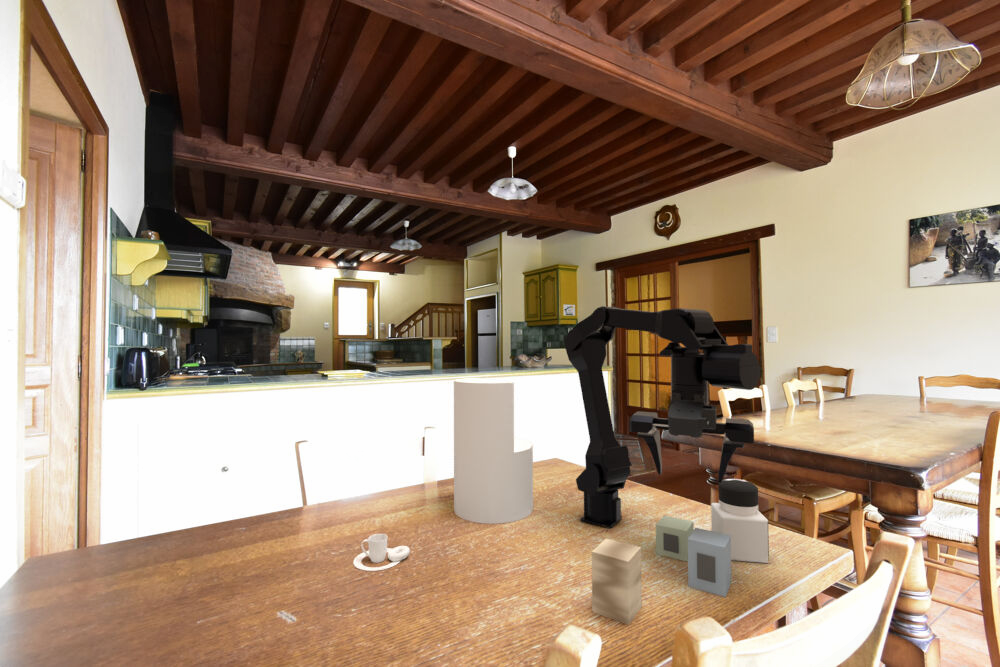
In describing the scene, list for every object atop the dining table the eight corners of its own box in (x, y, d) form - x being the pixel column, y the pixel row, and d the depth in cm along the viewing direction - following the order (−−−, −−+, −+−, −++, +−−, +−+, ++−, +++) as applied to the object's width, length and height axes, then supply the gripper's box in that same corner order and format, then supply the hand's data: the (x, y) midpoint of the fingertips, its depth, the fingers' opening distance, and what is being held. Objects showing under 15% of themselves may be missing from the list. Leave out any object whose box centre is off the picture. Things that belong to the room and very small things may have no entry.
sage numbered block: (655, 554, 77) (655, 524, 77) (664, 543, 82) (664, 515, 82) (686, 562, 74) (686, 531, 75) (694, 550, 79) (693, 521, 79)
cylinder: (476, 530, 87) (475, 384, 88) (441, 503, 102) (441, 379, 103) (549, 513, 96) (548, 380, 97) (507, 490, 111) (506, 376, 112)
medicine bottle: (769, 564, 74) (768, 489, 74) (722, 560, 75) (721, 487, 75) (754, 545, 81) (753, 477, 81) (711, 541, 82) (710, 474, 82)
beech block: (592, 611, 61) (591, 551, 61) (606, 595, 65) (606, 538, 65) (629, 625, 58) (628, 561, 58) (641, 606, 62) (640, 547, 62)
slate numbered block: (687, 587, 67) (687, 539, 67) (695, 572, 71) (695, 527, 71) (725, 598, 64) (724, 548, 64) (731, 582, 68) (730, 535, 68)
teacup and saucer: (415, 555, 78) (415, 531, 78) (389, 578, 70) (389, 551, 71) (372, 548, 81) (372, 525, 81) (342, 569, 73) (342, 543, 73)
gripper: (621, 385, 73) (621, 483, 73) (755, 392, 64) (755, 503, 64) (635, 379, 83) (635, 465, 82) (752, 385, 74) (752, 481, 74)
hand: (689, 478), depth 75 cm, fingers open, 9 cm apart
